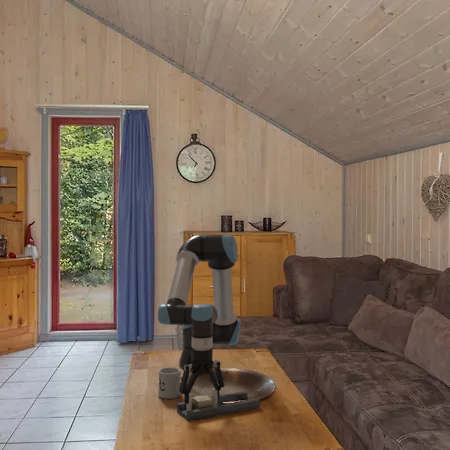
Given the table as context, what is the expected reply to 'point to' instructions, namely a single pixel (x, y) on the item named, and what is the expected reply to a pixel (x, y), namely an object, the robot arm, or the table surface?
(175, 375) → the mug
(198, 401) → the brushed top tan cube
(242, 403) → the rail
